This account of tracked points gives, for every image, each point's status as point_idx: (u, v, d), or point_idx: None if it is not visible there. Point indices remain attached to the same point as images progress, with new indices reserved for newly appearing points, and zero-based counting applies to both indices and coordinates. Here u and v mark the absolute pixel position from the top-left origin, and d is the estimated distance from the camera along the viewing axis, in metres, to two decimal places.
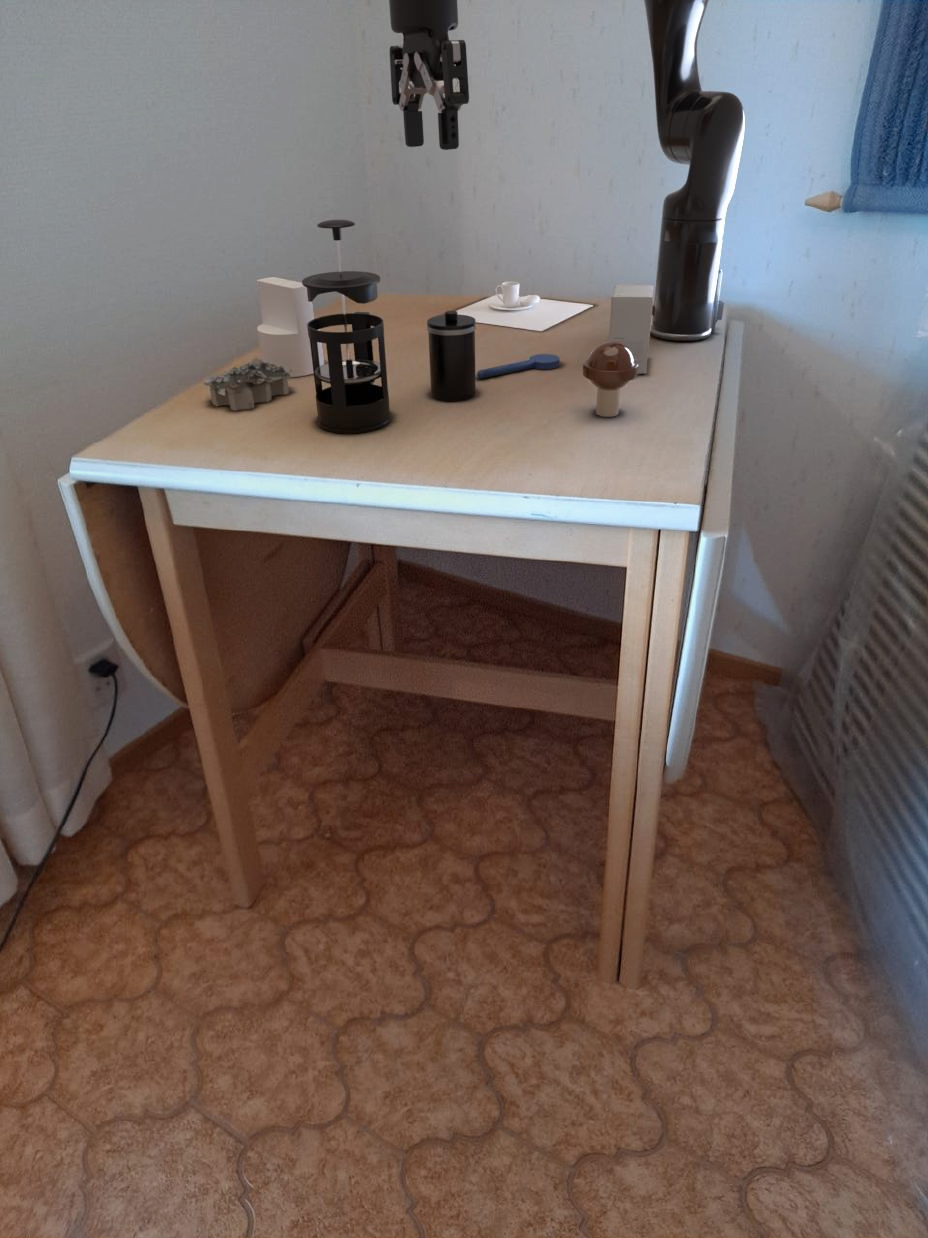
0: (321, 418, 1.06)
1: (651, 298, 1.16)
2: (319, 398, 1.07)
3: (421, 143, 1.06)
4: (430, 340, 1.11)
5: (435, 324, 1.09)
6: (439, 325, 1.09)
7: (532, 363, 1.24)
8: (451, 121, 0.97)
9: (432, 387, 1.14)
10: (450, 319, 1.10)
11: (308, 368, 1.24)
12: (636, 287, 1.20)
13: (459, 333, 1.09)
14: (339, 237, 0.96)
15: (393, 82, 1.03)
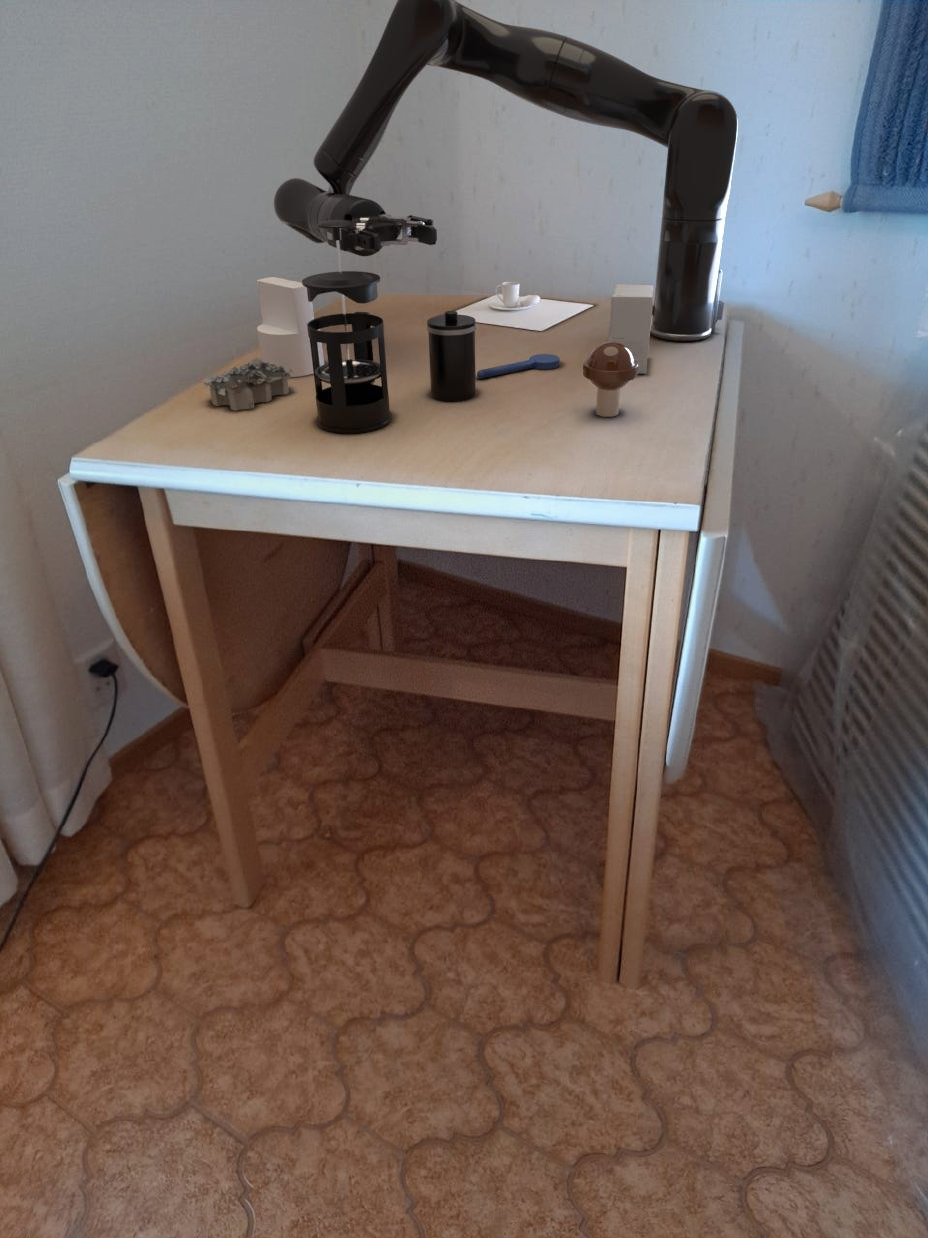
0: (321, 418, 1.06)
1: (651, 298, 1.16)
2: (319, 398, 1.07)
3: (430, 230, 1.16)
4: (430, 340, 1.11)
5: (435, 324, 1.09)
6: (439, 325, 1.09)
7: (532, 363, 1.24)
8: (361, 241, 1.14)
9: (432, 387, 1.14)
10: (450, 319, 1.10)
11: (308, 368, 1.24)
12: (636, 287, 1.20)
13: (459, 333, 1.09)
14: (339, 237, 0.96)
15: None
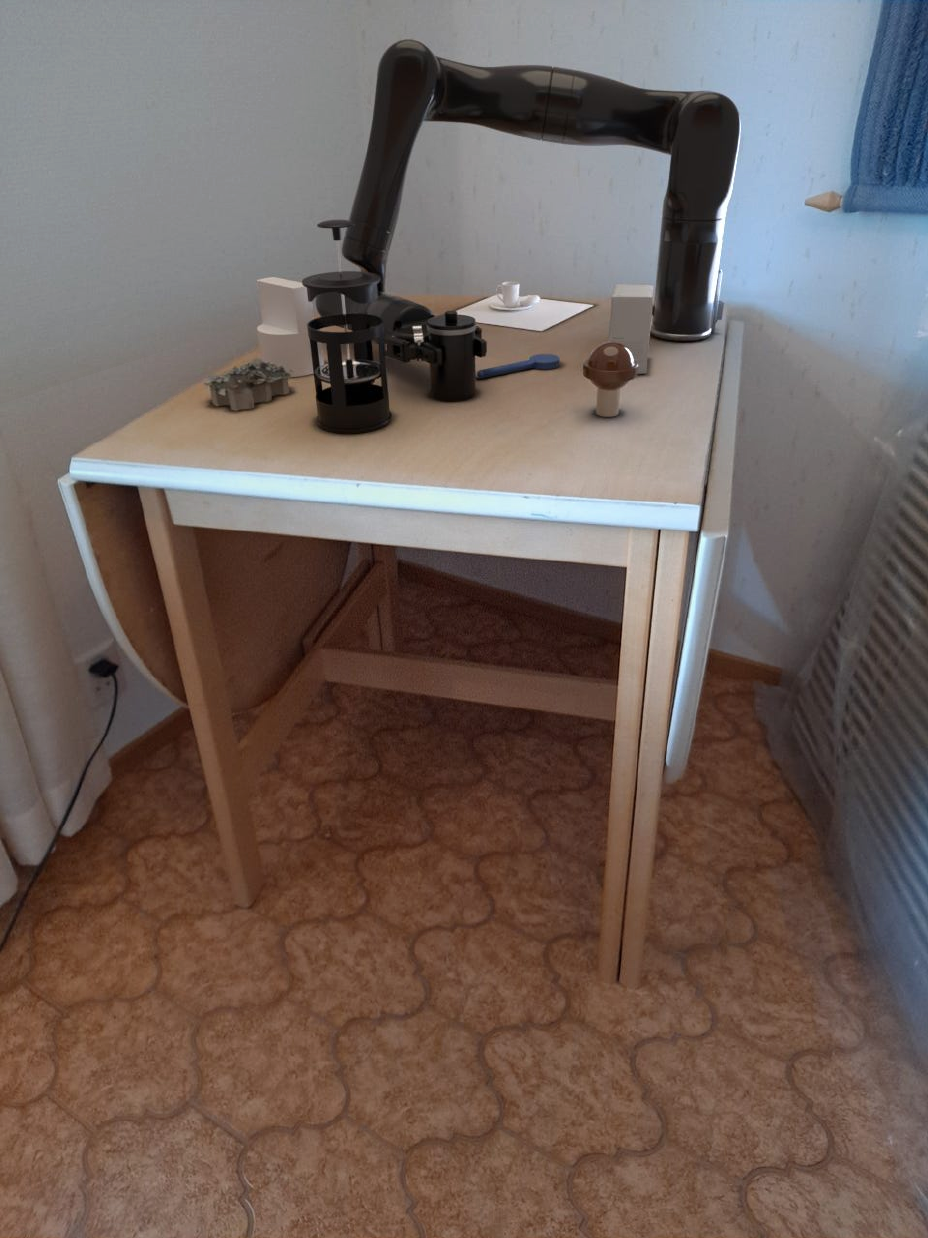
0: (321, 418, 1.06)
1: (651, 298, 1.16)
2: (319, 398, 1.07)
3: (480, 343, 1.12)
4: (430, 340, 1.11)
5: (435, 324, 1.09)
6: (439, 325, 1.09)
7: (532, 363, 1.24)
8: (422, 354, 1.11)
9: (432, 387, 1.14)
10: (450, 319, 1.10)
11: (308, 368, 1.24)
12: (636, 287, 1.20)
13: (459, 333, 1.09)
14: (339, 237, 0.96)
15: None
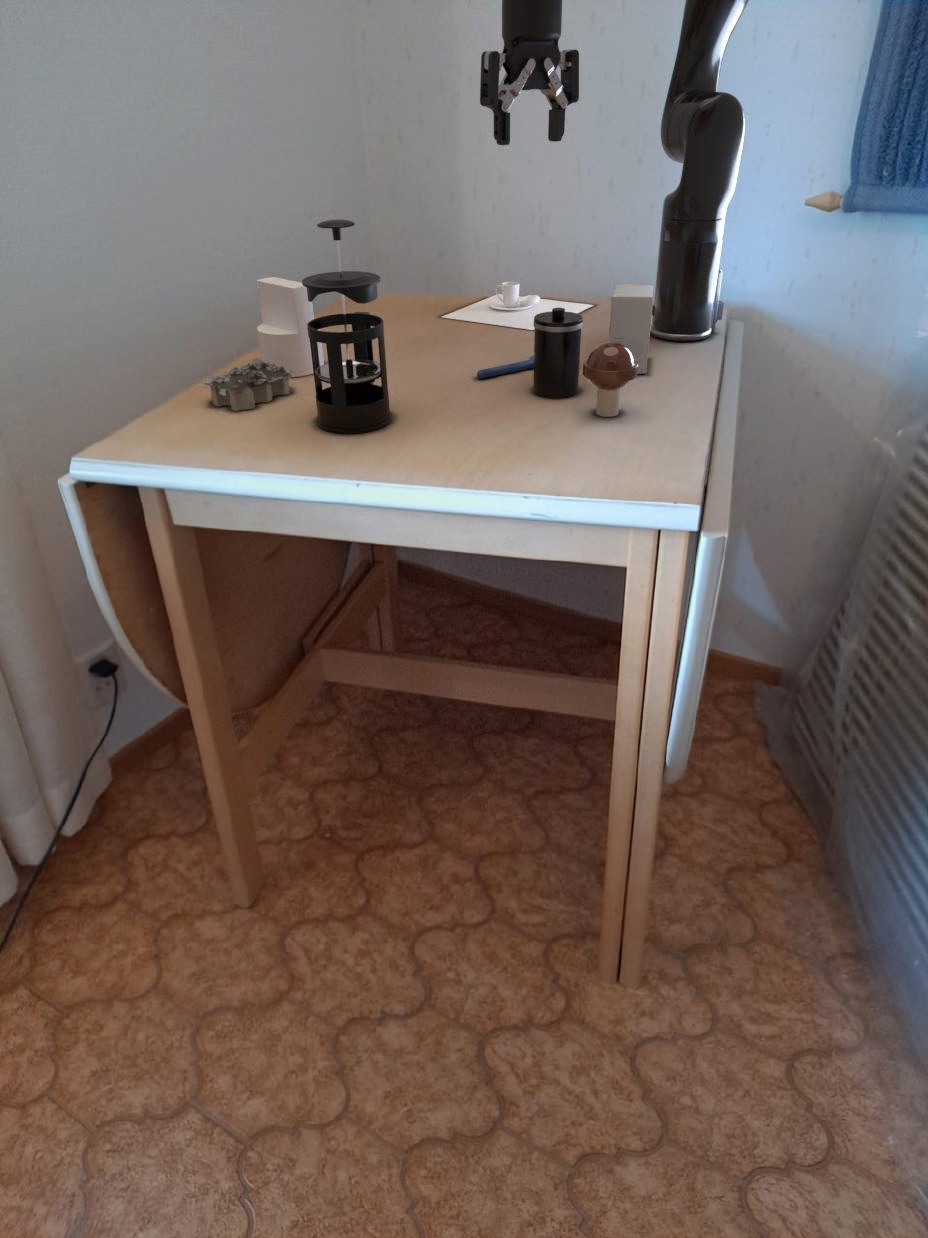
0: (321, 418, 1.06)
1: (651, 298, 1.16)
2: (319, 398, 1.07)
3: (556, 139, 1.17)
4: (537, 337, 1.11)
5: (543, 321, 1.09)
6: (548, 322, 1.09)
7: (532, 363, 1.24)
8: (496, 120, 1.12)
9: (535, 384, 1.14)
10: (558, 316, 1.10)
11: (308, 368, 1.24)
12: (636, 287, 1.20)
13: (568, 330, 1.09)
14: (339, 237, 0.96)
15: None
